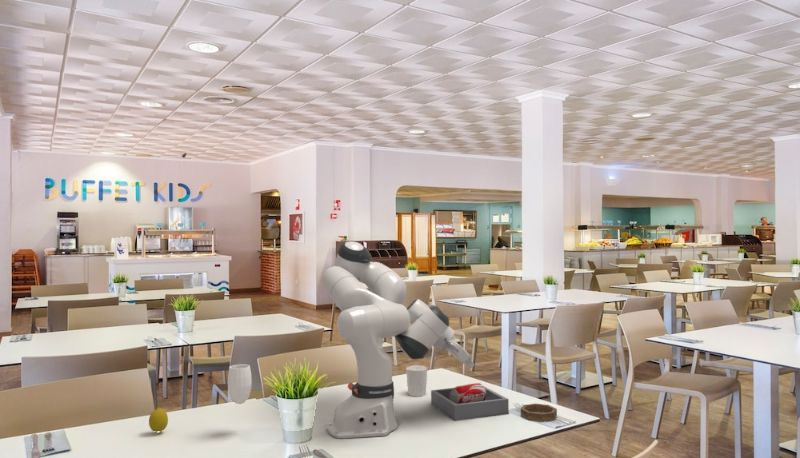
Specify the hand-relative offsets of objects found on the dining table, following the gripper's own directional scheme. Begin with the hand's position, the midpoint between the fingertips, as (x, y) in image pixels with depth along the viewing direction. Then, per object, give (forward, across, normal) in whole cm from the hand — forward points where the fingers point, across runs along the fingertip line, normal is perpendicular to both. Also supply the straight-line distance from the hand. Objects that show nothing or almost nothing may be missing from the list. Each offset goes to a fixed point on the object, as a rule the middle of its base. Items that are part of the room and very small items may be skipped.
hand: (469, 363), depth 211 cm
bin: (+11, 0, +12) cm, 16 cm away
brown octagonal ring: (+25, -13, -3) cm, 29 cm away
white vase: (-43, -10, +66) cm, 79 cm away
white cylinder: (+1, +21, +22) cm, 30 cm away
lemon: (-61, -5, +84) cm, 104 cm away
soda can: (+12, +3, +4) cm, 13 cm away
